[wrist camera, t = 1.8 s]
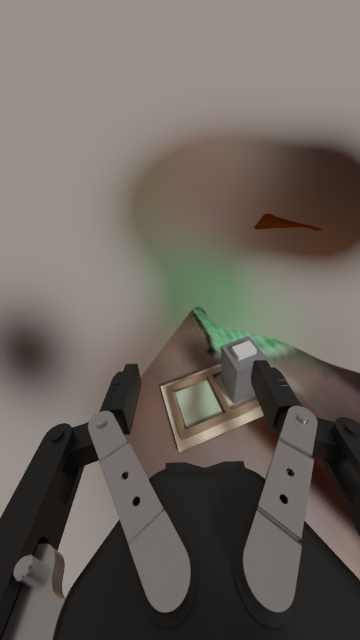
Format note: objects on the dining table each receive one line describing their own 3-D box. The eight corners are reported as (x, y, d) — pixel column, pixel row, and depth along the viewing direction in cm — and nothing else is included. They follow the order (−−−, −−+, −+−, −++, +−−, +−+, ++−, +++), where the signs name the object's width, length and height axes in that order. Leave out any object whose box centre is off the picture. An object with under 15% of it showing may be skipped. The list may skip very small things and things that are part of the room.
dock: (247, 354, 43) (248, 349, 42) (285, 406, 35) (288, 401, 34) (161, 387, 41) (159, 383, 39) (179, 452, 32) (177, 449, 31)
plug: (243, 371, 40) (249, 331, 32) (258, 393, 36) (269, 355, 28) (220, 380, 39) (221, 342, 31) (233, 403, 36) (238, 367, 27)
